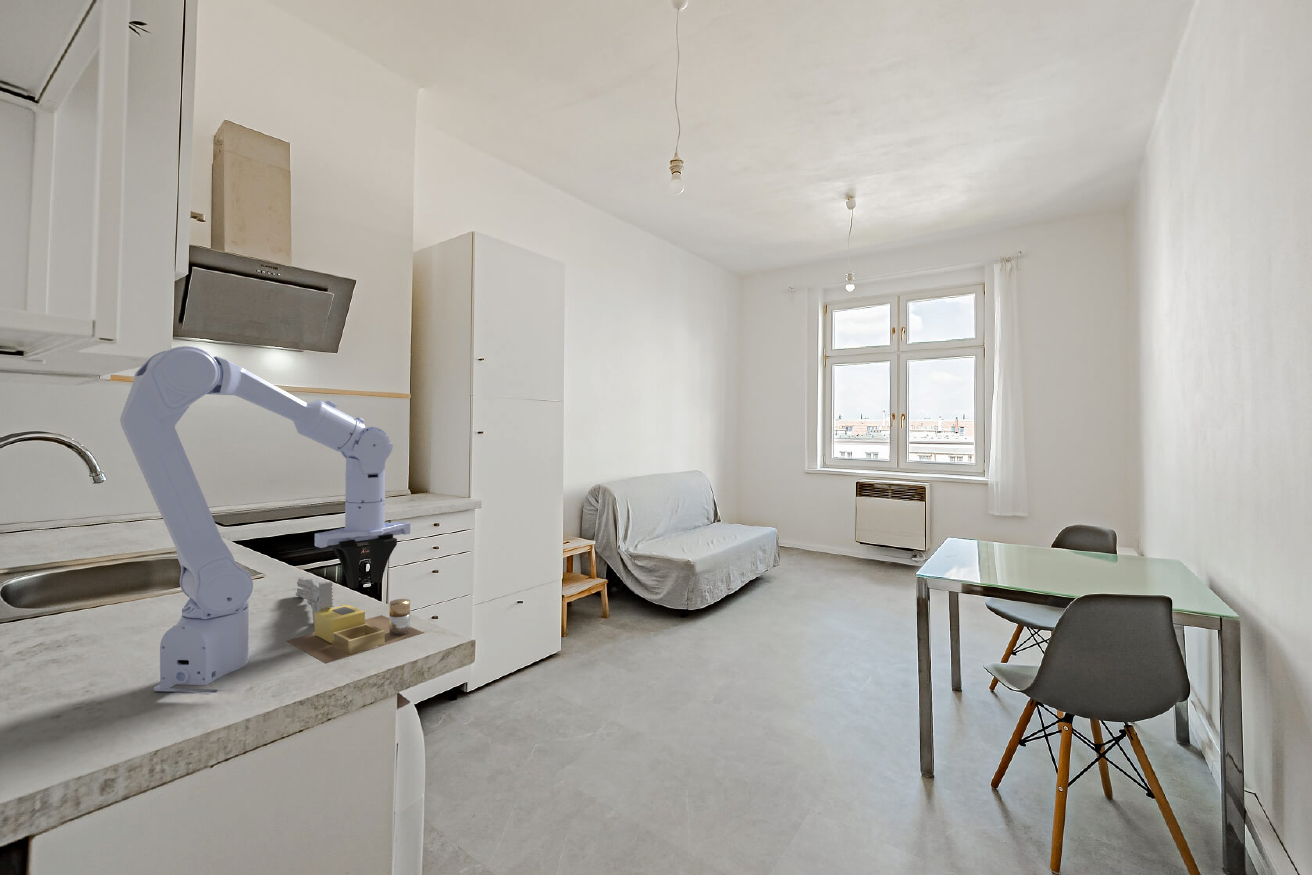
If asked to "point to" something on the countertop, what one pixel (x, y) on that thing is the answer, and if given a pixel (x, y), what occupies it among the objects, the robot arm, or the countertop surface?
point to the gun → (316, 594)
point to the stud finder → (337, 620)
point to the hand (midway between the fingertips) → (364, 584)
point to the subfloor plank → (350, 640)
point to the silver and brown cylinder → (399, 617)
